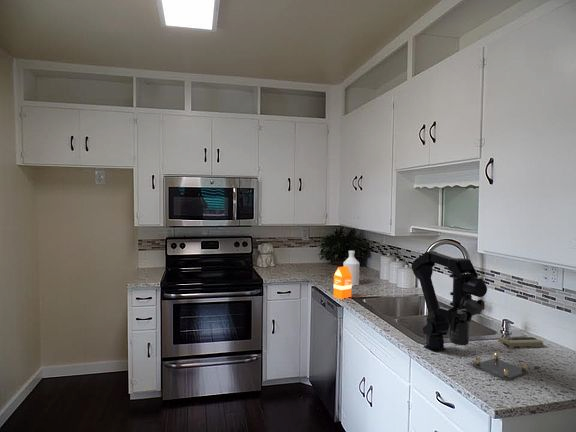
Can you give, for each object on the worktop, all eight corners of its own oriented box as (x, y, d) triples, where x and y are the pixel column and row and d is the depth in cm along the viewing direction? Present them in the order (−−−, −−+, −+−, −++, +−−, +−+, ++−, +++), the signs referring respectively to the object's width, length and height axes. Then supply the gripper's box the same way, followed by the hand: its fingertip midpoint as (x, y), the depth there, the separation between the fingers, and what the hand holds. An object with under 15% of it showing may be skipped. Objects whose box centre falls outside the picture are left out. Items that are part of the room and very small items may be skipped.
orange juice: (333, 296, 250) (333, 266, 249) (342, 294, 256) (343, 265, 255) (341, 299, 244) (342, 268, 243) (351, 297, 249) (352, 266, 248)
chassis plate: (474, 366, 148) (474, 357, 148) (495, 359, 154) (495, 351, 154) (506, 380, 137) (506, 371, 137) (528, 373, 143) (528, 364, 143)
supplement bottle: (472, 345, 148) (473, 315, 148) (454, 346, 148) (455, 315, 147) (463, 339, 155) (464, 309, 154) (446, 339, 155) (447, 310, 154)
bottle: (359, 286, 280) (359, 252, 279) (342, 285, 282) (343, 251, 281) (359, 282, 292) (359, 250, 291) (343, 282, 294) (343, 249, 293)
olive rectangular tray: (530, 341, 176) (530, 334, 176) (543, 348, 168) (544, 340, 168) (497, 342, 174) (498, 335, 174) (509, 349, 166) (510, 342, 166)
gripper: (462, 298, 139) (460, 340, 140) (495, 292, 148) (493, 332, 148) (437, 291, 149) (436, 331, 150) (469, 286, 157) (468, 324, 158)
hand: (459, 330), depth 151 cm, fingers closed on supplement bottle, 7 cm apart
